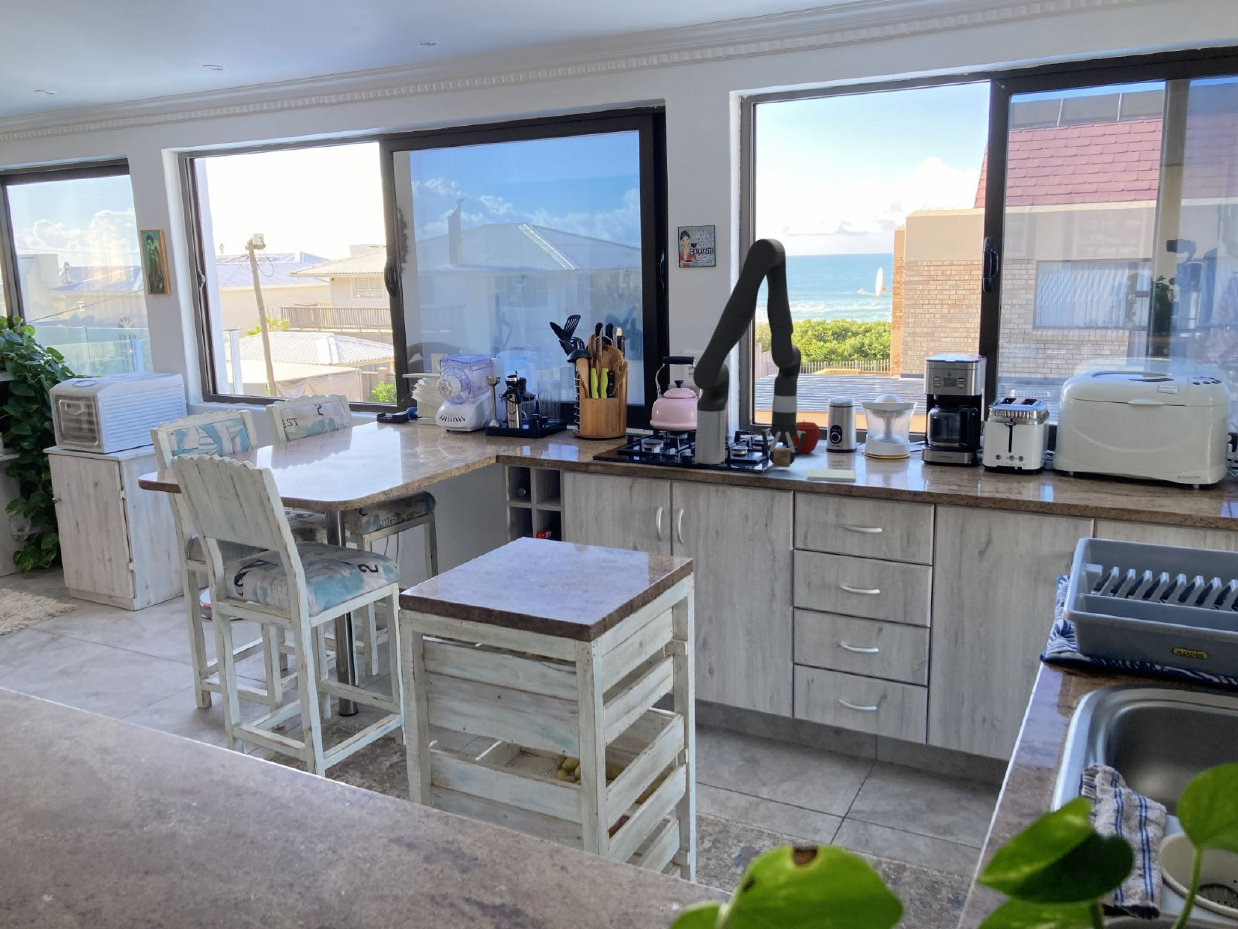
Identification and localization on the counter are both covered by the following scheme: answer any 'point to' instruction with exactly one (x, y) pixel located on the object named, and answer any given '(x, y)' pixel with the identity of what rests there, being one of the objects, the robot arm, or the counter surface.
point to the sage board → (831, 475)
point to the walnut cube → (782, 457)
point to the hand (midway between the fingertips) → (782, 462)
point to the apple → (807, 436)
